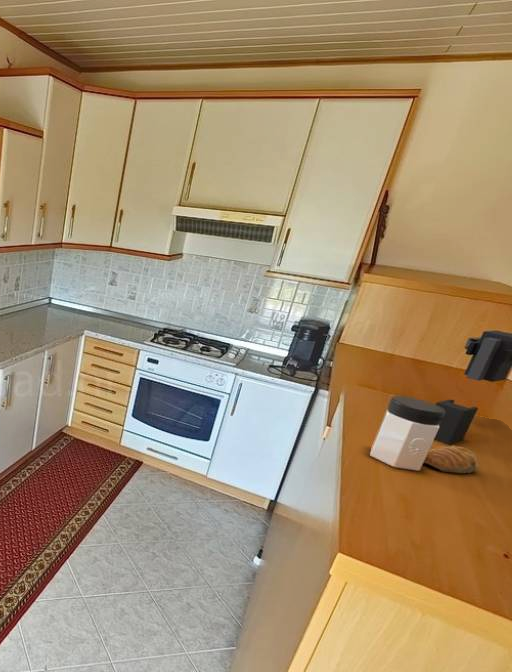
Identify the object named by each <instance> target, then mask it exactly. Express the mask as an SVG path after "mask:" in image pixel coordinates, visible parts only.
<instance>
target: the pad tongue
mask: <svg viewBox="0 0 512 672" xmlns="http://www.w3.org/2000/svg"><path fill="white" fill-rule="evenodd" d="M480 337H481V338H480V340H479V343H478V345H477V347H476V349H475V351H474V354H473V355H471V358H470V360H469V363H468V365H467V367H466V369H465V372H464V374H463V375H465V376H466V378H467V379H470V380H474V381H477V382H478V381H482V380H483V381H486V382H487V381H488V382H491V383H494V382H501V381H505V380H506V379H507V378H508V375H509V374H510V371H511V369H512V362H509V363H500V362H499V360H500V358H501V356H502V354H503V352H504V350H509V349H512V333H511V332H506V331H501V330H485V331H482V334H481V336H480Z"/></svg>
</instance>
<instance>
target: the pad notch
mask: <svg viewBox="0 0 512 672" xmlns="http://www.w3.org/2000/svg"><path fill="white" fill-rule="evenodd" d="M435 405H437V406H440V407H441V408H443V409H444V410H445V414H444V418H443V420H442V421H441V423H440V424H439V429H438V432H437V434H436V436H435V438H434V440H436V441H439V442H442V443H444V444H446V445H453V444H455V443H459V442H462V441H464V439H465V437H466V435H467V432H468V431H469V429H470V426H471V425H472V422H473V420H474V418H475V416H476V413H477V411H478V410H479V407H478V406H472V407H467V406H464V405H460V404H457V403H455V399H451V398H450V399H445V400H441V401H436V403H435Z"/></svg>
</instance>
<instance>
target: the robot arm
mask: <svg viewBox="0 0 512 672" xmlns="http://www.w3.org/2000/svg"><path fill="white" fill-rule="evenodd" d="M480 338H481V336H479V337H468V339H467V342H466V344H465V346H464V349H465V350H466V351H465V353H464V354H465V355H468V356H473V354H474V351H475V349H476V347H477V345H478V343H479V340H480ZM499 362H500V363H509V362H512V349H509V350H504V352H503V354H502V356H501V358H500V360H499Z"/></svg>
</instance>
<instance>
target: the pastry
mask: <svg viewBox="0 0 512 672" xmlns="http://www.w3.org/2000/svg"><path fill="white" fill-rule="evenodd" d="M423 464H427V465H429V466H431V467H434V468H436V469H438V470H440V471H441V472H445V473H453V474H466V473H467V474H472V472H474V471H476V470H478V469H479V464H478V460H477V458H476V454H475V453H474V452H473V451H471V450H470V449H468V448H466V447H463V446H456V445H451V446H442V445H441V446H436V447H434V448H430V449H429V451H428V454H427V456H426V458H425V460H424V462H423Z"/></svg>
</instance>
